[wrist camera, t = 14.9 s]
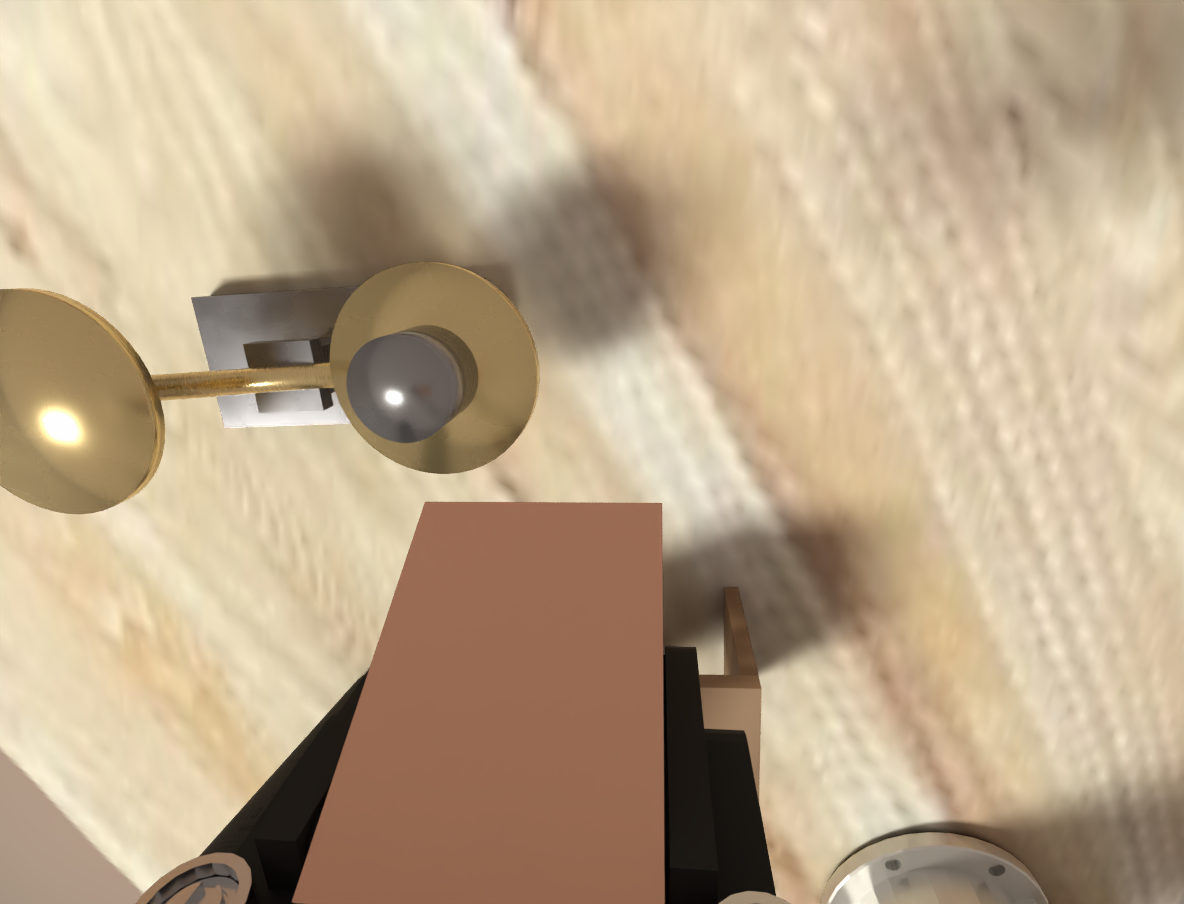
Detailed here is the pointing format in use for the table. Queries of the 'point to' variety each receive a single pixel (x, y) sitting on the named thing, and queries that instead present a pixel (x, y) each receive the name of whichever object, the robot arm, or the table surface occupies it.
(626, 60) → the table surface
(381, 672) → the block
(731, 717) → the arch
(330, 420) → the balance
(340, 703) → the drinking cup
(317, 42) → the table surface
